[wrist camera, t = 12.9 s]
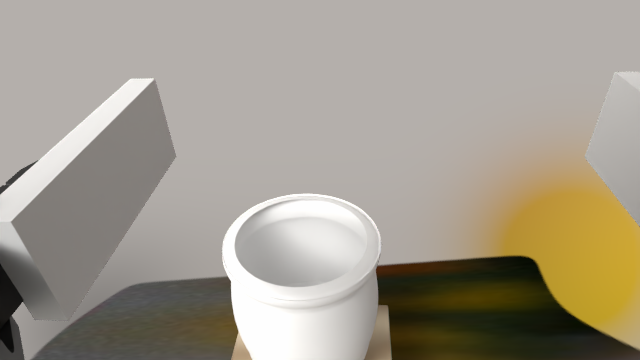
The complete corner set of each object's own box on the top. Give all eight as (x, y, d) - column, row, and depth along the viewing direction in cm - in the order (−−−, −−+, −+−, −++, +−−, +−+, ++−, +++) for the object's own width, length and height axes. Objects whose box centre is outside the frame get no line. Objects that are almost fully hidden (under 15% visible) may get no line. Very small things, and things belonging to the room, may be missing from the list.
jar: (380, 328, 40) (389, 199, 32) (364, 445, 32) (370, 312, 24) (271, 310, 43) (252, 185, 34) (230, 415, 34) (191, 284, 26)
